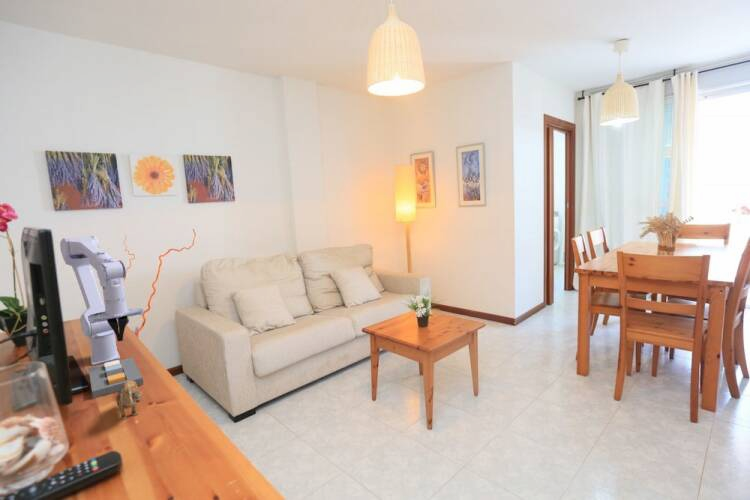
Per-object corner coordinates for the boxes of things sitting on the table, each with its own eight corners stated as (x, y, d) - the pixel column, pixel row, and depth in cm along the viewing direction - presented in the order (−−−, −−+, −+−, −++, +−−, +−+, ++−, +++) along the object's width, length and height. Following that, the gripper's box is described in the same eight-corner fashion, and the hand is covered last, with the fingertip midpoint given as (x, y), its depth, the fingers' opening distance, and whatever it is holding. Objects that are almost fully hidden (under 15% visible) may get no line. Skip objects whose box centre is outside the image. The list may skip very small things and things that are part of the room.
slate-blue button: (106, 375, 118) (105, 367, 118) (121, 371, 121) (120, 363, 120) (107, 379, 115) (106, 371, 115) (123, 375, 118) (122, 367, 117)
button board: (89, 373, 123) (88, 367, 122) (133, 363, 130) (132, 357, 130) (93, 398, 106) (92, 391, 106) (143, 384, 114) (142, 377, 113)
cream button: (104, 370, 123) (103, 363, 123) (119, 366, 126) (118, 359, 126) (105, 374, 120) (104, 367, 120) (121, 370, 123) (120, 363, 122)
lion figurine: (145, 419, 94) (141, 384, 93) (119, 427, 91) (115, 391, 90) (140, 396, 106) (136, 365, 105) (117, 403, 103) (112, 370, 102)
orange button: (108, 384, 113) (107, 376, 113) (124, 380, 116) (123, 372, 115) (109, 389, 110) (108, 381, 110) (126, 384, 113) (125, 376, 112)
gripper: (87, 306, 116) (93, 349, 117) (143, 297, 125) (147, 337, 126) (86, 301, 121) (92, 343, 123) (139, 293, 130) (144, 332, 132)
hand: (120, 340), depth 125 cm, fingers closed
